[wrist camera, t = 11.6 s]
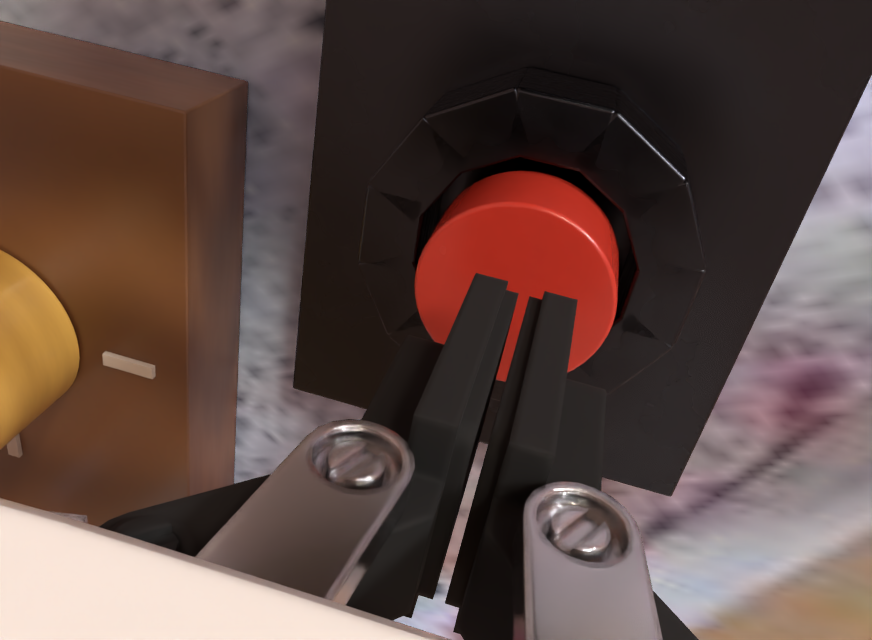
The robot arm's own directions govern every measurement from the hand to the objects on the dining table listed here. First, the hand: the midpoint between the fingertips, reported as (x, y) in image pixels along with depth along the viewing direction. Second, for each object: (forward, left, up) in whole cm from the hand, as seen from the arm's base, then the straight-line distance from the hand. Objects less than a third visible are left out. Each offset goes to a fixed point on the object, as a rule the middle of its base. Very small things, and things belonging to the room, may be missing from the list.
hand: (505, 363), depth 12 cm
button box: (0, 0, -7) cm, 7 cm away
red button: (0, 0, -3) cm, 3 cm away
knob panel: (-6, +13, -7) cm, 16 cm away
